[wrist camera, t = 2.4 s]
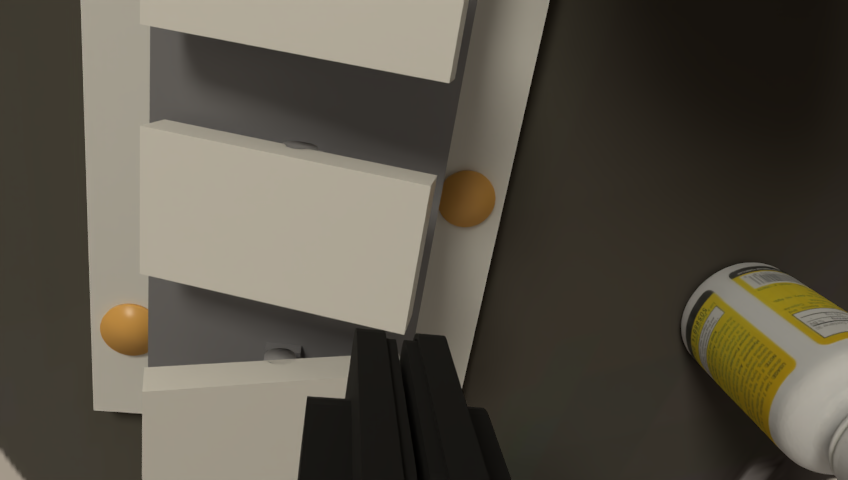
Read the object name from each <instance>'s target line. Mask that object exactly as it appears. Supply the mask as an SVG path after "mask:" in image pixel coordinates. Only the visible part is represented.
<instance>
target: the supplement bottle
mask: <svg viewBox="0 0 848 480" xmlns="http://www.w3.org/2000/svg"><path fill="white" fill-rule="evenodd" d="M681 334H682V339H683V342H684V344H685V346H686V348H687V350H688V351H689V353H690V354H691V355H692V357H693V358H694V359H695V360H696V361H697V362H698V363H699V364H700V366H701V367H702V368H703V369H704V370H705V371H706V372H707V373H708V374H709V375H710V376H711V378H712V379H713V380H714V381H715V382H716V383H717V384H718V385H719V386H720V387H721V388H722V389H723V390H724V391H725V392H726V394H727V395H728V396H729V397H730V398H731V399H732V400H733V401H734V402H735V403H736V404H737V405H738V406H739V407H740V408H741V409H742V410H743V411H744V412H745V413H746V414H747V415H748V416H749V417H750V418H751V419H752V420H753V421H754V422H755V423H756V425H757V426H758V427H759V428H760V429H761V430H762V431H763V432H764V433H765V434H766V435H767V436H768V437H769V438H770V439H771V440H772V442H773V443H774V444H775V445H776V446H777V447H778V448H779V449H780V450H781V451H782V452H783V453H784V454H785V455H786V456H788V457H789V458H790V459H791V460H792V461H794V462H795V463H796V464H798V465H800V466H801V467H803V468H806V469H808V470H811V471H814V472H817V473H822V474H831V475H835V476H836V478H837V480H848V313H847V312H846V311H844V310H843V309H841V308H840V307H838V306H837V305H835V304H833V303H832V302H830V301H829V300H827V299H826V298H824V297H823V296H821V295H819V294H818V293H816V292H815V291H813V290H812V289H810V288H809V287H807V286H805V285H804V284H802V283H801V282H799V281H798V280H796V279H795V278H793V277H791V276H790V275H788V274H787V273H785V272H783V271H781V270H779V269H777V268H775V267H773V266H770V265H767V264H763V263H740V264H736V265H732V266H729V267H727V268H724V269H722V270H720V271H718V272H717V273H715V274H713V275H712V276H711V277H709V278H708V279H706V280H705V281H704V282H703V283H702V284H701V285H700V286H699V287H698V288H697V289H696V291H695V292H694V293H693V294H692V296H691V298H690V299H689V301H688V303H687V305H686V307H685V309H684V312H683V315H682V320H681Z"/></svg>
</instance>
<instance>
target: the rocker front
mask: <svg viewBox="0 0 848 480" xmlns="http://www.w3.org/2000/svg"><path fill="white" fill-rule="evenodd" d="M468 4H469V0H140V24H142V25H147V26H152V27H158V28H163V29H168V30H173V31H178V32H184V33H189V34H194V35H199V36H205V37H210V38H215V39H220V40H225V41H231V42H236V43H241V44H246V45H252V46H257V47H262V48H267V49H272V50H278V51H283V52H288V53H293V54H299V55H304V56H309V57H314V58H319V59H325V60H330V61H335V62H340V63H346V64H351V65H356V66H361V67H366V68H372V69H377V70H382V71H387V72H393V73H398V74H403V75H408V76H413V77H419V78H424V79H429V80H434V81H440V82H445V83H450V82H452V81H453V80H454V79H455V75H456V70H457V64H458V59H459V53H460V48H461V42H462V37H463V31H464V26H465V20H466V15H467V9H468Z"/></svg>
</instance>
